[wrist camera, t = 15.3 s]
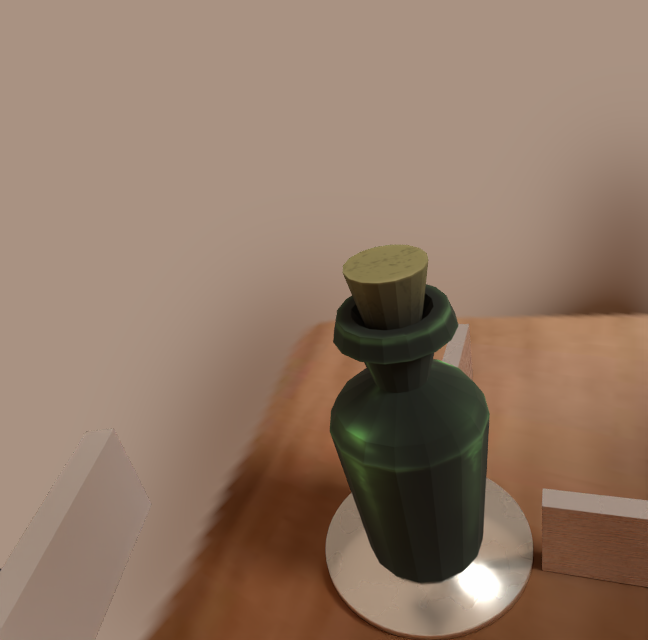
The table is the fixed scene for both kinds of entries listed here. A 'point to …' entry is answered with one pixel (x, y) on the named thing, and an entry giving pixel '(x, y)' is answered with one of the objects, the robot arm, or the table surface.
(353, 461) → the potion bottle
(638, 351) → the table surface
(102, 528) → the robot arm
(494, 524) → the shiny disc with plates
